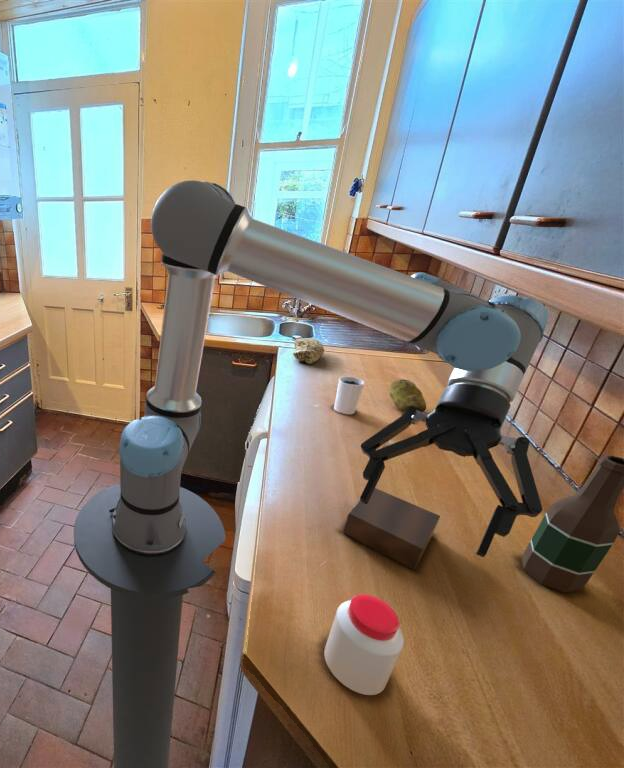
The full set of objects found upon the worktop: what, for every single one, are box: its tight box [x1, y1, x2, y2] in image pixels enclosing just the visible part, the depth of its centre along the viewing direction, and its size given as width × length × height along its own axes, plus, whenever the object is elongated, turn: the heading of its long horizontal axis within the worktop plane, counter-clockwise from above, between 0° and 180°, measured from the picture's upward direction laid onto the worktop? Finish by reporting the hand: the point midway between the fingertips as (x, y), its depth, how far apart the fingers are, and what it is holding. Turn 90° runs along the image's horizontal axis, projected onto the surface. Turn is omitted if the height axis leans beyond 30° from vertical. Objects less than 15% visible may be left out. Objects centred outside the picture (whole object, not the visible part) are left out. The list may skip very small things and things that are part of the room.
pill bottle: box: [323, 593, 405, 696], centre depth 55 cm, size 8×8×11 cm
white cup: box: [333, 375, 365, 415], centre depth 124 cm, size 7×7×10 cm
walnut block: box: [342, 487, 441, 571], centre depth 78 cm, size 12×12×5 cm
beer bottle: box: [521, 454, 624, 593], centre depth 65 cm, size 8×8×24 cm
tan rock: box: [292, 337, 325, 365], centre depth 168 cm, size 13×8×20 cm
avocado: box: [389, 379, 427, 413], centre depth 125 cm, size 8×13×8 cm, turn 159°
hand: (417, 525), depth 56 cm, fingers open, 13 cm apart
